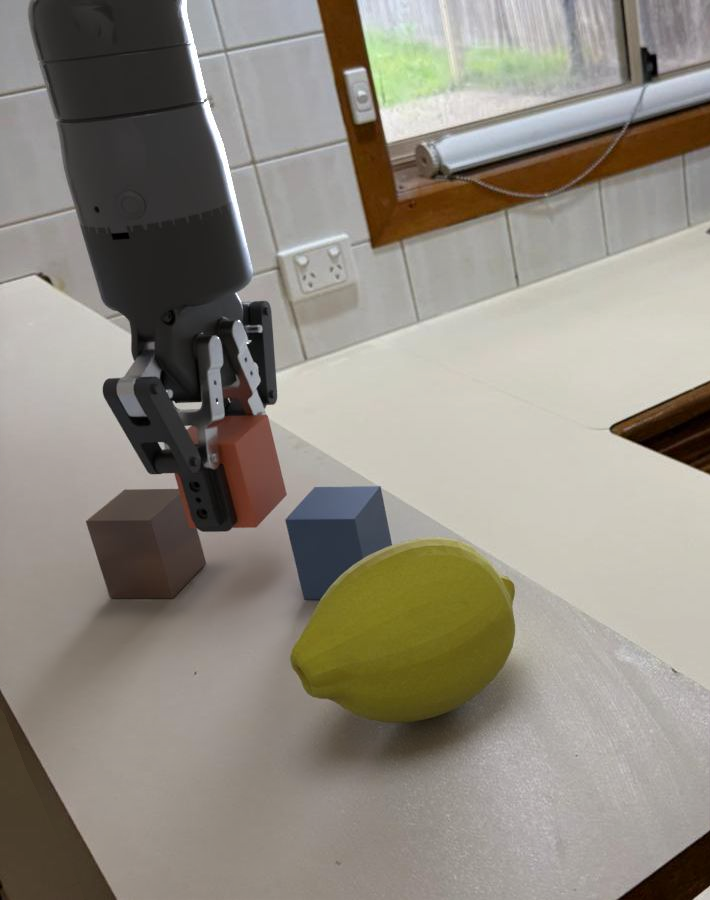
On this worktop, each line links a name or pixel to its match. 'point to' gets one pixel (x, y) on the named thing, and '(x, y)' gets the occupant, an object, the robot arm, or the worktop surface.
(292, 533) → the slate block
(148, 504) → the walnut block
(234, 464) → the terracotta block
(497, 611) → the lemon
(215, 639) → the worktop surface
